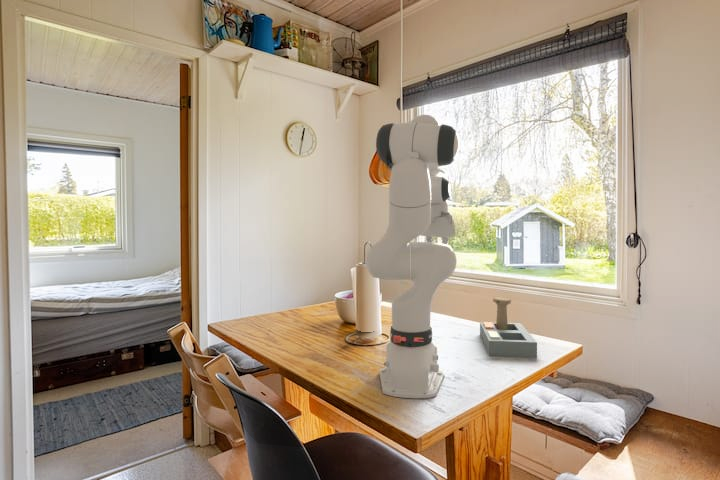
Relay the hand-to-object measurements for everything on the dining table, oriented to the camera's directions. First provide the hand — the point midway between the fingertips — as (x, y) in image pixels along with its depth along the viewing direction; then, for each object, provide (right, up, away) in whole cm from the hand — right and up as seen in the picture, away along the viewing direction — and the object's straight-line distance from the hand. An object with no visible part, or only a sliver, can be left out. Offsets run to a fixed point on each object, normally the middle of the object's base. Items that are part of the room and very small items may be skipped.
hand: (436, 248), depth 153 cm
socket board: (+24, -34, -10) cm, 43 cm away
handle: (+24, -34, -2) cm, 42 cm away
